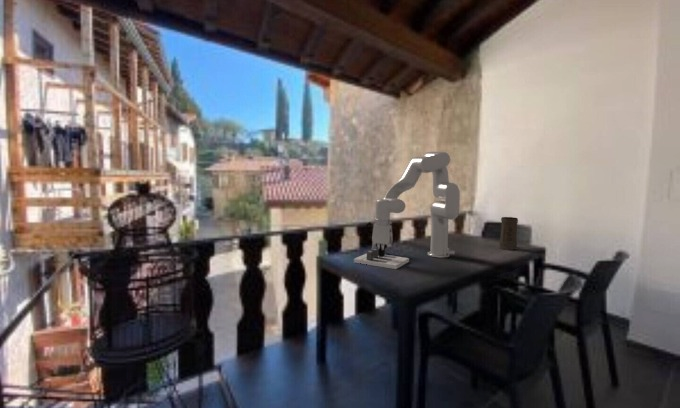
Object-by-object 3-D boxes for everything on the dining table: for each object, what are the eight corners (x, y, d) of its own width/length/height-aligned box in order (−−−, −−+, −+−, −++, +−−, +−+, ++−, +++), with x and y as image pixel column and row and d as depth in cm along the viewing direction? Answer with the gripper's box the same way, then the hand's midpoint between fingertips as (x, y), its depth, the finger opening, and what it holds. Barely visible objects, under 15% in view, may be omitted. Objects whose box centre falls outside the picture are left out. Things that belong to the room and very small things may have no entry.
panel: (408, 261, 226) (408, 257, 225) (395, 269, 210) (396, 265, 210) (368, 255, 238) (368, 252, 237) (353, 262, 222) (353, 258, 222)
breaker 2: (378, 256, 226) (378, 249, 226) (375, 257, 224) (375, 250, 223) (374, 256, 227) (374, 248, 227) (371, 257, 225) (371, 249, 224)
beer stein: (520, 250, 258) (521, 218, 257) (502, 250, 258) (504, 217, 257) (510, 247, 273) (511, 216, 272) (493, 246, 273) (495, 216, 273)
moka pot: (390, 256, 237) (391, 221, 235) (363, 254, 240) (364, 220, 238) (391, 252, 247) (393, 219, 244) (366, 251, 250) (366, 217, 247)
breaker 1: (373, 258, 221) (373, 251, 221) (370, 260, 219) (371, 252, 218) (369, 258, 222) (369, 250, 222) (366, 259, 220) (366, 251, 219)
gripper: (398, 223, 221) (397, 257, 223) (372, 220, 228) (372, 253, 230) (392, 224, 214) (391, 259, 217) (366, 222, 222) (365, 256, 224)
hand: (381, 256), depth 224 cm, fingers closed
